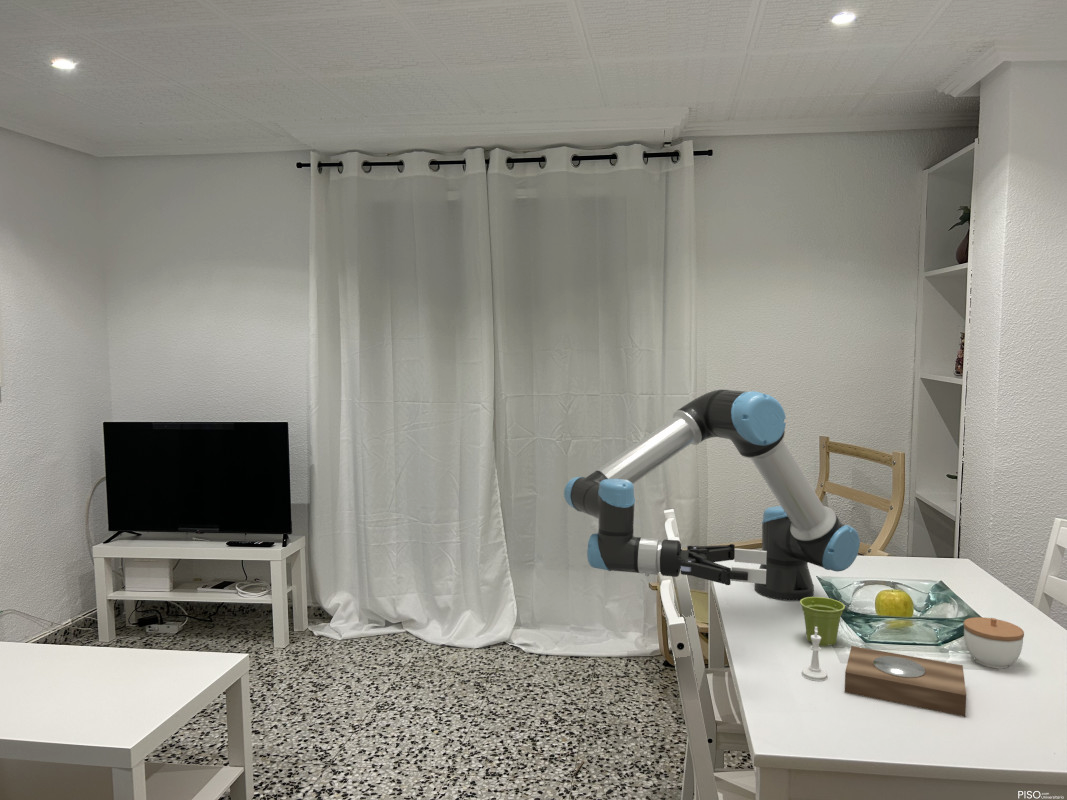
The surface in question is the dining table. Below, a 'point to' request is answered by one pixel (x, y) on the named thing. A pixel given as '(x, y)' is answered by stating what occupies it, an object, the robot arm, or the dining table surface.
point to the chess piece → (815, 662)
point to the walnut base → (906, 680)
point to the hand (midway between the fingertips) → (766, 566)
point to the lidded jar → (993, 641)
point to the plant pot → (822, 618)
